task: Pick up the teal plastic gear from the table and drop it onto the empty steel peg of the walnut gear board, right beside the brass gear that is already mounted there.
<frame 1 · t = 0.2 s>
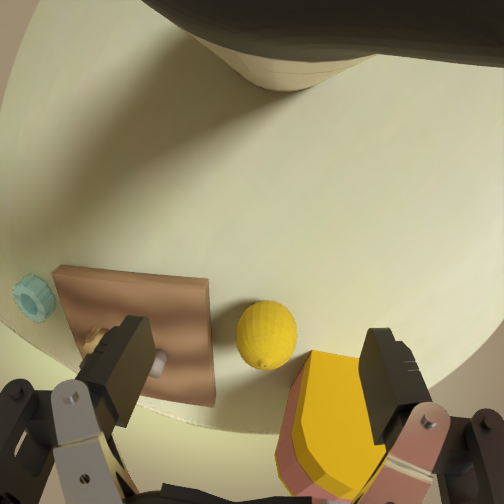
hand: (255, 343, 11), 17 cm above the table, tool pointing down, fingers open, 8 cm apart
lemon: (268, 306, 31), on the table
alarm clock: (341, 378, 36), on the table
gear board: (140, 338, 35), on the table
teal gear: (38, 293, 34), on the table
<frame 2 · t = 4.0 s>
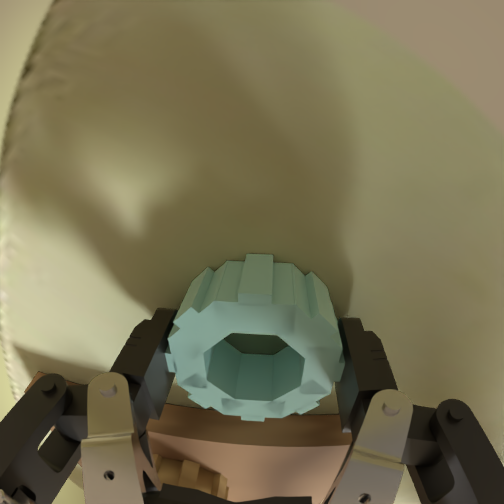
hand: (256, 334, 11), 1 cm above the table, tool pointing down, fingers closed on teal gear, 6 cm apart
gear board: (193, 471, 18), on the table
teal gear: (258, 324, 12), on the table, touching gripper
when the fingers open (4 cm above the table, at t = 9.8 s): teal gear drops 1 cm, resting on gear board.
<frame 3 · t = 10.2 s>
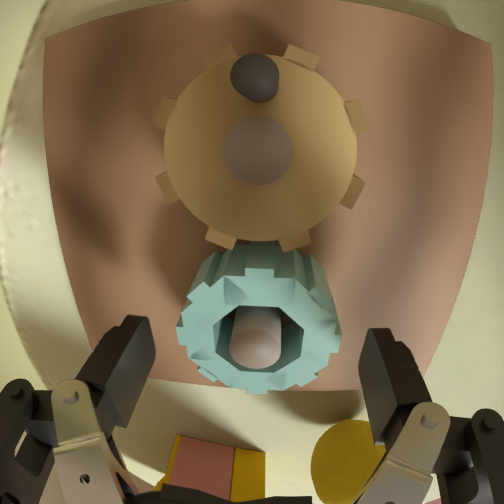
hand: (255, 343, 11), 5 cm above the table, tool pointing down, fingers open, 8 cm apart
lemon: (346, 417, 20), on the table
alarm clock: (209, 466, 25), on the table
gear board: (263, 214, 14), on the table
teal gear: (261, 303, 13), point 2 cm above the table, touching gear board
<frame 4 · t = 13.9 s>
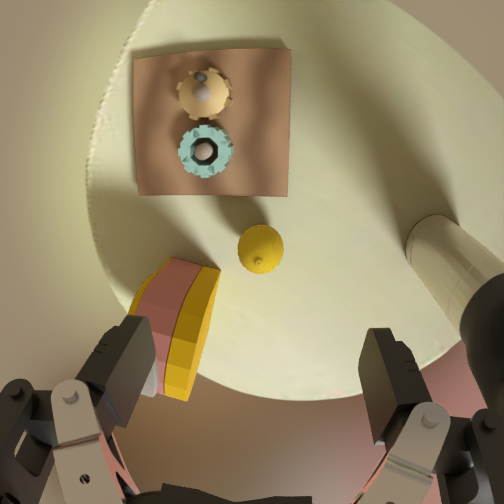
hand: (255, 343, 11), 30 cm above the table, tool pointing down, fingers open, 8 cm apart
lemon: (262, 235, 42), on the table
alarm clock: (188, 294, 47), on the table
gear board: (211, 121, 36), on the table
teal gear: (208, 149, 35), point 2 cm above the table, touching gear board
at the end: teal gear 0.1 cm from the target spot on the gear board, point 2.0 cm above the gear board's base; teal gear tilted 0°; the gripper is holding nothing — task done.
